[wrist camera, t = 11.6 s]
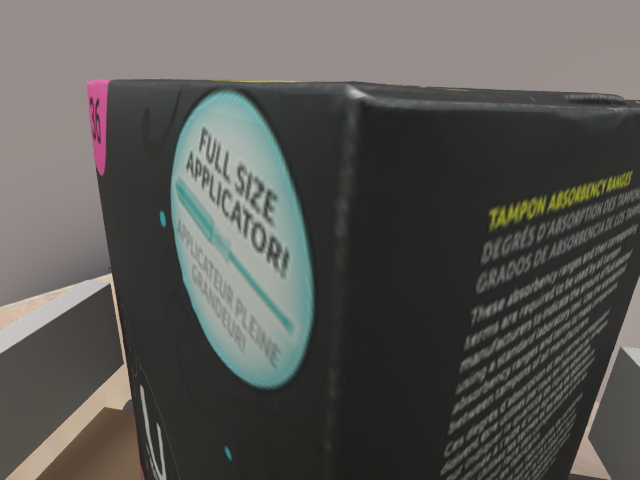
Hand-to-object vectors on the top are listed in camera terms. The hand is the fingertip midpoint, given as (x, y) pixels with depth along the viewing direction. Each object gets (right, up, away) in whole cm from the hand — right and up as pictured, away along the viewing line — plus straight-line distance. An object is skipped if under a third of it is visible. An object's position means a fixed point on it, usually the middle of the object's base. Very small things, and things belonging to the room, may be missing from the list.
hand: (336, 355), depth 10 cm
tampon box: (0, -7, +4) cm, 8 cm away
